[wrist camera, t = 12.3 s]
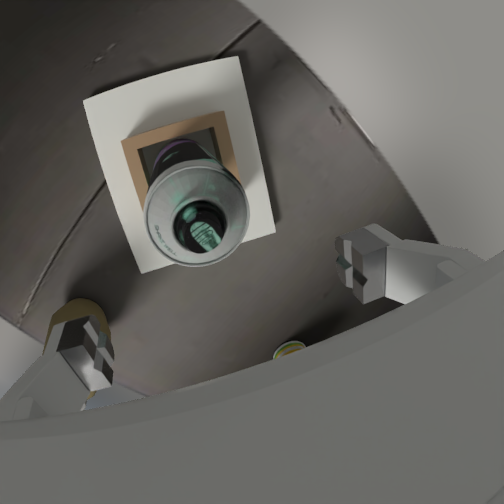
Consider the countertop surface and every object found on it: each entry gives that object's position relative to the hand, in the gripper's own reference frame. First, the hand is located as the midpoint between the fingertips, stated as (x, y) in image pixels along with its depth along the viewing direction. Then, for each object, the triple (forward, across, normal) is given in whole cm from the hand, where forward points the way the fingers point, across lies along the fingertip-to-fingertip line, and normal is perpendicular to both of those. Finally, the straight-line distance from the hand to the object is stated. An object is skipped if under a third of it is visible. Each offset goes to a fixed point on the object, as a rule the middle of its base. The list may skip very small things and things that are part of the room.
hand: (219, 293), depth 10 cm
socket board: (+26, 0, 0) cm, 26 cm away
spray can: (+24, 0, 0) cm, 24 cm away
